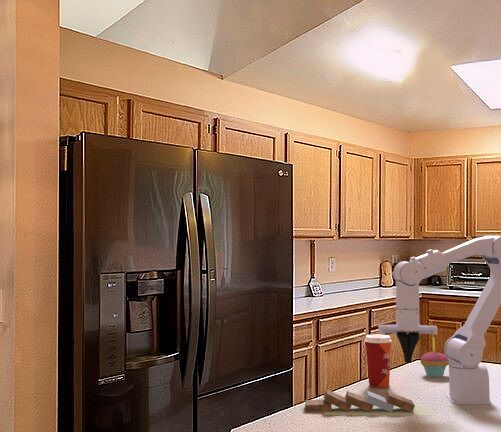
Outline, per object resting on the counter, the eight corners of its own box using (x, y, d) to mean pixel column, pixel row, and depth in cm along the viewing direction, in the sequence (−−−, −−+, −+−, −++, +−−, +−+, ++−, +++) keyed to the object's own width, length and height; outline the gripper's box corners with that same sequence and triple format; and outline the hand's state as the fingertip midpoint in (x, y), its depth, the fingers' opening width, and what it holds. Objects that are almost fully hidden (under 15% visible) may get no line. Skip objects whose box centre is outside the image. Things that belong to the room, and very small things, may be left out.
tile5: (330, 398, 152) (305, 400, 153) (331, 403, 148) (304, 405, 148) (331, 406, 152) (305, 407, 153) (332, 411, 148) (305, 412, 148)
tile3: (371, 400, 151) (347, 390, 152) (373, 405, 147) (348, 395, 147) (369, 407, 151) (344, 397, 152) (371, 412, 147) (345, 402, 147)
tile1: (411, 400, 150) (387, 390, 151) (415, 405, 146) (389, 395, 146) (409, 407, 150) (384, 397, 151) (412, 412, 146) (386, 402, 146)
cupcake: (418, 372, 188) (417, 333, 189) (447, 372, 187) (446, 333, 187) (422, 378, 180) (421, 338, 180) (452, 379, 179) (451, 338, 179)
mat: (424, 406, 152) (424, 404, 152) (431, 417, 143) (431, 415, 143) (323, 405, 154) (323, 404, 154) (324, 415, 146) (324, 414, 146)
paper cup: (393, 389, 169) (392, 338, 169) (365, 388, 170) (363, 338, 171) (392, 382, 176) (391, 333, 177) (365, 381, 178) (364, 333, 178)
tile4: (350, 400, 152) (326, 389, 152) (351, 405, 147) (327, 393, 148) (347, 406, 152) (323, 395, 152) (348, 412, 147) (324, 400, 148)
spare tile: (391, 400, 151) (366, 390, 151) (394, 405, 146) (368, 395, 147) (388, 407, 151) (364, 397, 151) (391, 412, 146) (366, 402, 147)
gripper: (433, 307, 159) (433, 359, 158) (377, 306, 160) (377, 358, 160) (439, 310, 152) (439, 365, 151) (380, 309, 153) (380, 364, 153)
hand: (407, 362), depth 155 cm, fingers closed
